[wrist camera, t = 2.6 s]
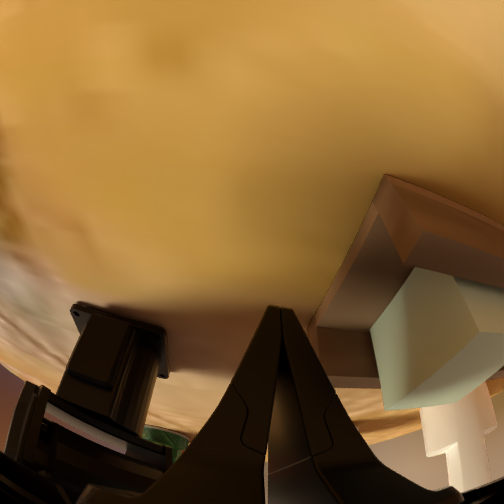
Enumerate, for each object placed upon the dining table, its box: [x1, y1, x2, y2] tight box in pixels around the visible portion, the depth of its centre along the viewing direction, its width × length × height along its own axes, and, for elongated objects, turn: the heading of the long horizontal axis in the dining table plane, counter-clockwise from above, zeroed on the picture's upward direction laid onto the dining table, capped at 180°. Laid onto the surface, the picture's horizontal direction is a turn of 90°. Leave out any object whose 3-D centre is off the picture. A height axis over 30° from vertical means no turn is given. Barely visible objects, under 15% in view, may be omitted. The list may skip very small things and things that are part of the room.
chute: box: [308, 174, 504, 388], centre depth 12 cm, size 9×22×4 cm, turn 79°
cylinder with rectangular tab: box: [419, 381, 497, 493], centre depth 19 cm, size 9×9×12 cm
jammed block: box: [370, 267, 504, 411], centre depth 10 cm, size 6×5×4 cm
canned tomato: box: [142, 425, 189, 463], centre depth 30 cm, size 8×8×11 cm
